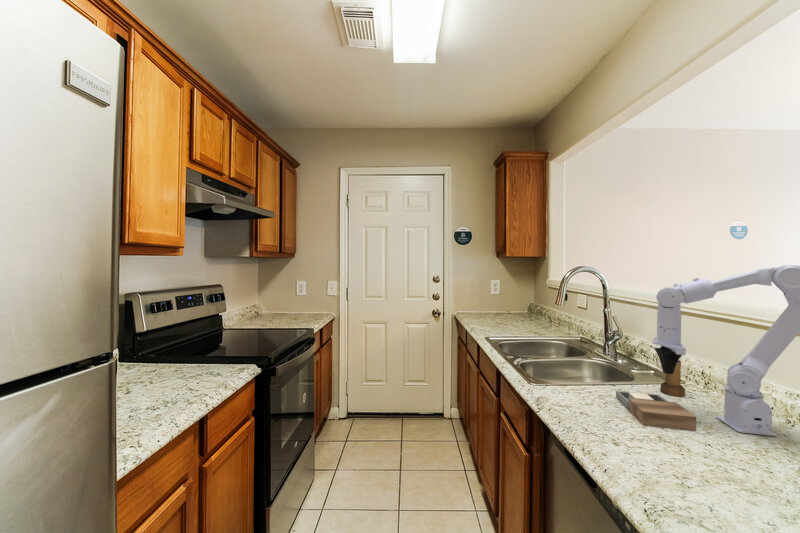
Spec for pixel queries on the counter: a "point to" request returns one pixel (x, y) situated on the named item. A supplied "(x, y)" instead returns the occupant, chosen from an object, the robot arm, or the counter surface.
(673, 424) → the wooden cutting board
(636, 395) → the tile
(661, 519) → the counter surface
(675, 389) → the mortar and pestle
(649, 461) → the counter surface
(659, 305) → the robot arm
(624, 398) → the box
